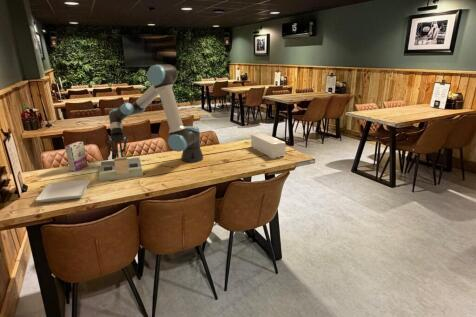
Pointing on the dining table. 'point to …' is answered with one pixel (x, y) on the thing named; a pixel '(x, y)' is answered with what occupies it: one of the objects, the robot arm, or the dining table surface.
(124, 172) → the maple block
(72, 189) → the salad plate
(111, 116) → the robot arm
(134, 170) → the block
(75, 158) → the candy bar box
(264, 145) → the white rectangular block
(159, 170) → the dining table surface
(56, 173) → the dining table surface
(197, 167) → the dining table surface
